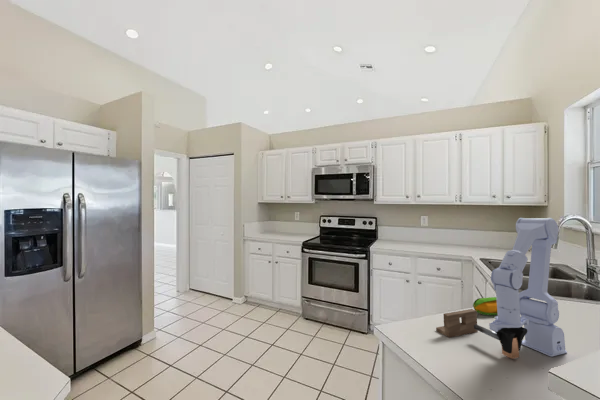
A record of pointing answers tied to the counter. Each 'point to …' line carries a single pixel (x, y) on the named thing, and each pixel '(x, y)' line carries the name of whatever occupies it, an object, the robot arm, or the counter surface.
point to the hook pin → (514, 344)
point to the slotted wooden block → (458, 323)
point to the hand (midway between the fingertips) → (511, 350)
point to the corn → (486, 306)
